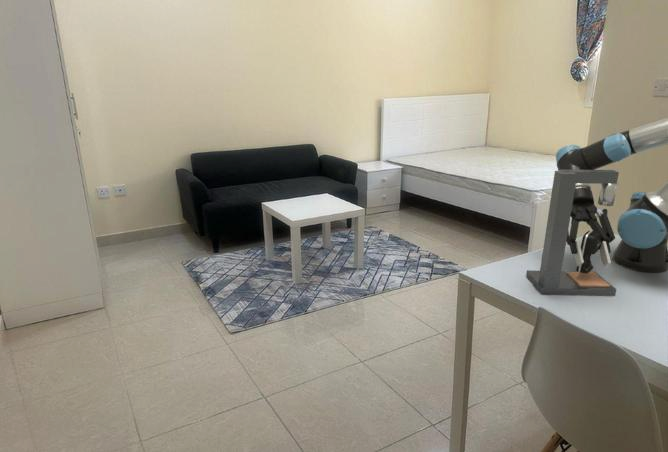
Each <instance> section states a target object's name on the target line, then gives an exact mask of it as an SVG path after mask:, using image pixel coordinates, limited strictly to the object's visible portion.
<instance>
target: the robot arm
mask: <svg viewBox="0 0 668 452" xmlns="http://www.w3.org/2000/svg"><path fill="white" fill-rule="evenodd" d="M667 145H668V117H666V118H663V119H660V120H656V121H654V122H650V123H647V124H644V125H641V126H638V127H635V128H631V129H628V130H625V131H622V132H617V133H614V134H611V135H608V136H607V137H605V138H602V139H601V140H598V141H595V142H594V143H590V144H589V145H587V146H585V147H581V146H580V145H577V144H570V145H565V146H562V147H561V148H559V149H558V150H557V152H556V154H555V159H556V168H557V171H558V170H599V169H600V168H603V167H606V166H608V165H610V164H611V165H612V164H613V163H616V162H617V163H618V162H620V161H623V160H624V159H626V158H628V157H630V156H631V155H632V156H633V155H635V154H638V153H642V152H646V151H649V150H652V149H656V148H660V147H664V146H667ZM631 195H632V196H631V198H630V199H629V201H630V203H629V207H628V208H627V210H626V211H625V212H624V213H623V214H621V215H620V216H619V218H618V220H617V227H616V228H617V233H618V236H619V238H620V239H621V240H620V241H619V243H618V245H617V246H616V248H615V250H614V251H613V255H612V260H613V262H615V263H616V264H618V265H620V266H622V267H624V268H627V269H630V270H634V271H640V272H645V273H646V272H647V273H662V272H667V271H668V181H667V182H666V183H664V184H663V185H662V186H661V187H660V188H659V189H658V190H656V191H648V192H646V191H636V192H633V193H632V194H631ZM608 212H609V211H608V209H607V208H603V209H599V208H597V206H596V205H595V199H594V194H593V191H592V186H591V183H576V186H575V192H574V198H573V204H572V210H571V216H570V218H571V219H570V221H571V222H570V229H569V230H568V234H567V240H566V245H568V246H569V248H570V254H572V255H574V259H575V263H576V267H577V266H580V265H581V264H583V263H584V260H583V256H582V251H581V243H580V242H581V241H580V240H577V236H578V235H577V234H578V231H579V225H580V223H581V222H583V223H586V224H587V225H588V226H589V227H590V228H591V231H594V232H598V233H600V234H601V235H602V240H601V246H600V249H599V250H598V251H599V253H600V256H601V262H602V265H603V267H607V266H609V265H611V264H612V261H611V257H610V254H611V253H612V250H611V245H610V243H612V242H614V240H615V239H616V236H615V233H614V230H613V228H612V225H611V221H610V219H609V217H608ZM596 215H597V216H596ZM598 220H599V221H598Z"/></svg>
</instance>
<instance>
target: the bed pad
mask: <svg viewBox="0 0 668 452" xmlns="http://www.w3.org/2000/svg"><path fill="white" fill-rule="evenodd" d="M595 272H596V271H590V272H589V273H587V274H586V273H581V272H567V274H568V275H569V276H570V277H571V278H572V279H573V280H574V281H575V282H576V283H577V284H578V285H579V286H583V287H610V285H609V284H610V283H609V282H608V283H609V284H608V283H606V282H605V281H604V280H603V279H604V278H603V277H602V278H603V279H602V278H600V277H599V276H598V275H597V274H598V273H597V272H596V273H597V274H596V273H595Z"/></svg>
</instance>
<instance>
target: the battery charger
mask: <svg viewBox="0 0 668 452" xmlns="http://www.w3.org/2000/svg"><path fill="white" fill-rule="evenodd" d="M581 239H582V240H581V243H580V247H581V251H582V256H583V260H584V263H583V264H581V265H580V266H577V265H576V269H575V271H577V272H581V273H586V274H587V273H589V272H592V270H593V268H594V266H593V264H592V261H591V257H592V255H593V256H594V255H596V253H597V252H598V251H600V250H599V249H600V246H601V240H602V235H601V234H600V233H598V232H594V231H593V230H588V231H587V232H585V233H584V234H583V236H582V238H581Z"/></svg>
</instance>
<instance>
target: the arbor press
mask: <svg viewBox="0 0 668 452" xmlns="http://www.w3.org/2000/svg"><path fill="white" fill-rule="evenodd" d="M619 175H620V172H619V171H616V170H614V169H595V170H558V169H557V170H554V175H553V181H552V182H553V183H552V187H551V189H552V190H551V195H550V202H549V207H548V214H547V221H546V228H545V229H546V230H545V235H544V241H543V242H544V243H543V248H542V249H543V250H542V254H541V255H542V256H541V262H540V268H539V269H540V270H526V273H525V274H526V275H525V277H526V279H527V280H528V281H529V282H530V284H532V286H533V287H534V289H536V291H537V292H538V293H539V294H540V295H542V296H543V295H544V296H545V295H547V296H551V295H552V296H587V297H588V296H589V297H590V296H594V297H595V296H596V297H597V296H599V297H600V296H601V297H616V294H617V289H616V288H615V287H614V286H613V285H612V284H611V283H610V282H608V281H607V280H606V279H605V278H604V277H602V276H601V275H600V274H599V273H597V272H596V271H594V272H595V273H596V274H597V275H598V276H599V277H600V278H602V279H603V280H604V281H605V282H606V283H608V284H609V285H610V287H583V286H579V285H578V284H577V283H576V282H575V281H574V280H573V279H572V278H571V277H570V276H569V275H568V274H567V272H577V271H576V270H575V271H573V270H572V271H571V270H563V264H564V257H565V254H566V253H565V251H566V245H567V242H566V240H567V234H568V231H569V228H570V223H571V222H570V221H571V210H572V204H573V198H574V192H575V186H576V183H590V184H593V185H594V184H597V185H598V184H600V189H599V196H598V202H597V205H600V206H604V207H614V203H615V199H616V194H617V188H618V185H619V184H618V178H619Z"/></svg>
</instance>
